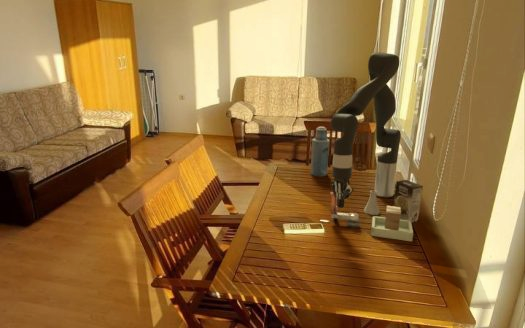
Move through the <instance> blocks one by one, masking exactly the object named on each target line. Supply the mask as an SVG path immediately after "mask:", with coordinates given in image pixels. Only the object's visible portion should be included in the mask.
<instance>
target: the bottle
mask: <svg viewBox="0 0 525 328" xmlns="http://www.w3.org/2000/svg"><path fill="white" fill-rule="evenodd" d="M327 132H328V131H327V128H326V127H325V126H318V127H316V129H315V137H314V138H312V140H311V157H310V160H311V161H310V175H312V176H314V177H319V178H320V177H326V176H327V175H328V169H329V165H328V164H329V152H330V140H329V139H328V136H327Z"/></svg>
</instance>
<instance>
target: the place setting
mask: <svg viewBox="0 0 525 328" xmlns="http://www.w3.org/2000/svg"><path fill="white" fill-rule="evenodd" d="M360 160H361V158H360V157H356V158H355V162H358V163H359V162H361V161H360ZM352 169H355V170H357V171H363V170H366V165H364V164H353V166H352Z"/></svg>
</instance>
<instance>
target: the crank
mask: <svg viewBox="0 0 525 328" xmlns="http://www.w3.org/2000/svg"><path fill="white" fill-rule="evenodd" d="M330 196H331V203H330V204H331V205H330V207H331V208H330V215H331V217H330V219H333V218H338V220H339V219H341V220H348V221H349V222H353V223H356V222H359V223H360V214H358V213H357V212H349V213H348V212H347V213H345V212H339V211H338V212H337V209H338V208H339V207H337V197H336V195H334V193H333V191H331V192H330ZM338 210H339V209H338Z"/></svg>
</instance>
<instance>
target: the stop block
mask: <svg viewBox="0 0 525 328" xmlns="http://www.w3.org/2000/svg"><path fill="white" fill-rule="evenodd" d="M385 212H386V213H385V218H386V219H385V229H392V230H399V222H400V214H401V208H400V207H394V206H391V205H386V209H385Z"/></svg>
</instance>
